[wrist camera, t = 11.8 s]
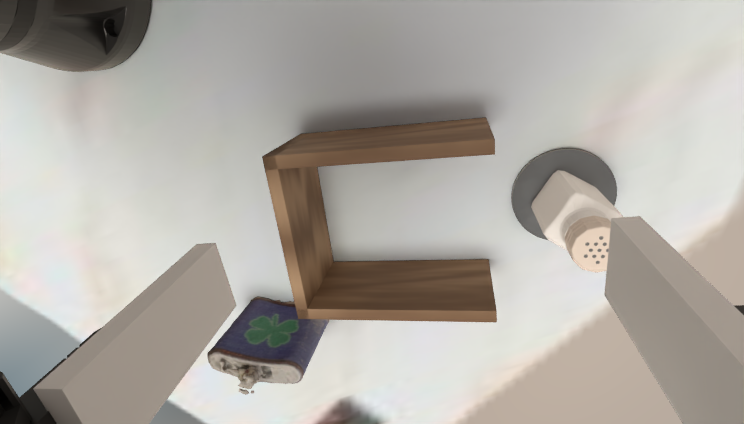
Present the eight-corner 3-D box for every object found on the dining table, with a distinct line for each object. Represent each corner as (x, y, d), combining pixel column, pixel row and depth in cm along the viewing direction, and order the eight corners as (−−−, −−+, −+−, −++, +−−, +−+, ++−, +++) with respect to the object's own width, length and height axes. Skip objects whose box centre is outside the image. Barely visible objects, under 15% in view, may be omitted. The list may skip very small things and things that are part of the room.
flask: (330, 305, 43) (293, 382, 33) (330, 328, 44) (295, 409, 35) (249, 293, 45) (191, 364, 35) (251, 315, 46) (196, 389, 36)
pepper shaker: (599, 188, 33) (651, 240, 24) (568, 227, 34) (606, 288, 26) (555, 165, 33) (591, 209, 24) (526, 205, 34) (550, 259, 26)
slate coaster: (511, 152, 34) (512, 153, 33) (618, 144, 32) (621, 146, 31) (511, 239, 36) (512, 242, 36) (609, 236, 35) (612, 239, 34)
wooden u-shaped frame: (300, 133, 36) (262, 156, 29) (485, 117, 33) (494, 138, 26) (325, 270, 41) (298, 318, 34) (488, 268, 38) (496, 322, 31)
